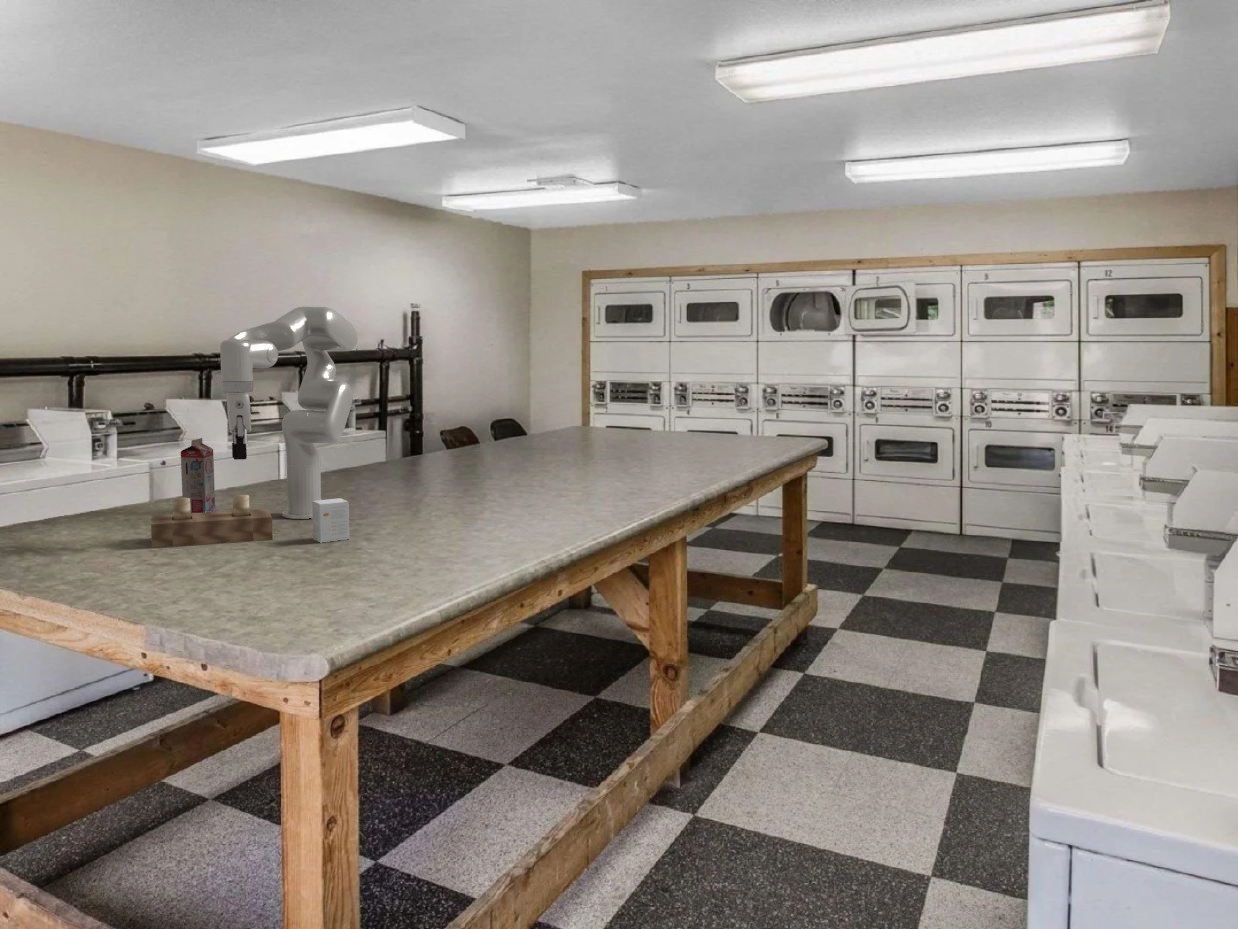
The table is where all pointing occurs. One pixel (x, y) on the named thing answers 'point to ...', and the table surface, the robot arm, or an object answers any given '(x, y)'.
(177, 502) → the peg
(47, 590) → the table surface
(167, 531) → the press block
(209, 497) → the juice carton
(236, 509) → the peg
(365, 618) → the table surface
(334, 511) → the small box
